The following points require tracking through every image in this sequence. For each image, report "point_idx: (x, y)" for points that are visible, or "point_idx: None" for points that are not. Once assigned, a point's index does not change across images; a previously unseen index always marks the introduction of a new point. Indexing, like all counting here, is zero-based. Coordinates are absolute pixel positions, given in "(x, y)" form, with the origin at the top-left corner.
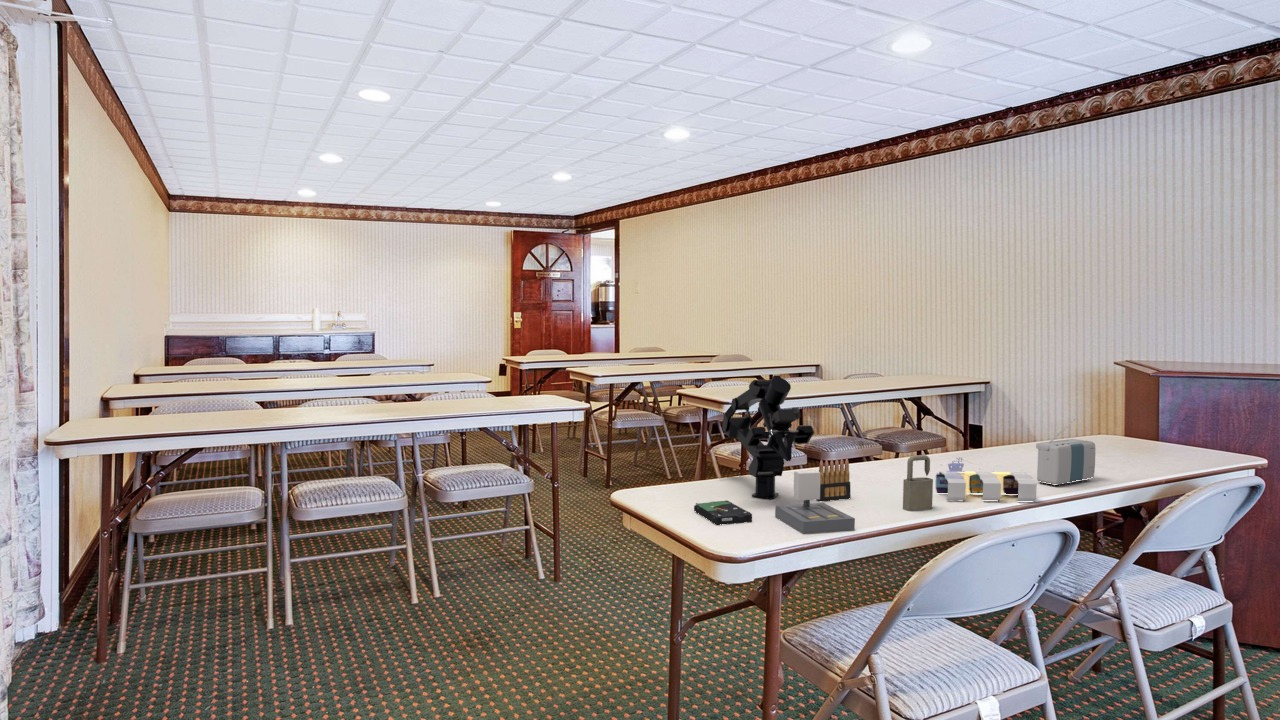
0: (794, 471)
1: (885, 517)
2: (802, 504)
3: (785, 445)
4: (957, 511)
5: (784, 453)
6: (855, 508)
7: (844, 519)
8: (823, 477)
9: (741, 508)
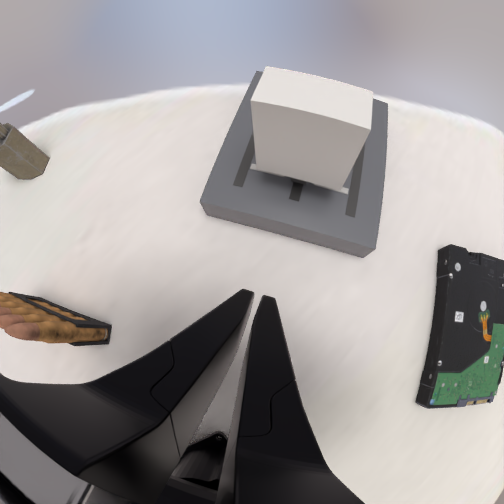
0: (370, 127)
1: (116, 133)
2: (281, 215)
3: (175, 438)
4: None
5: (284, 338)
6: (94, 218)
7: None
8: (53, 321)
9: (447, 308)
